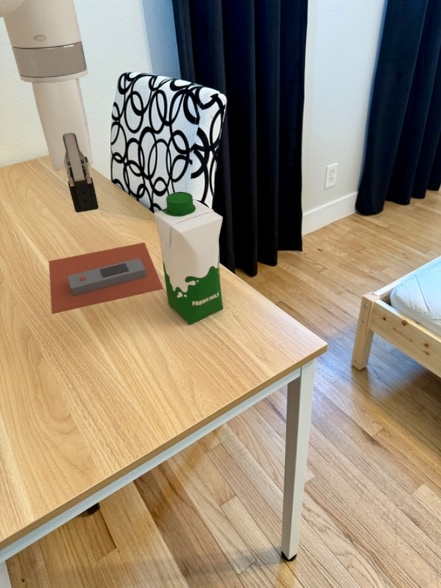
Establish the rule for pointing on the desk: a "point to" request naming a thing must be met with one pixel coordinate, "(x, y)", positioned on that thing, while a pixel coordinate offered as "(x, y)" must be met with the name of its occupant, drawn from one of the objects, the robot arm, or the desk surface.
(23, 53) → the robot arm
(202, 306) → the milk carton
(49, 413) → the desk surface
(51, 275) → the mat
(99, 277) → the remote
